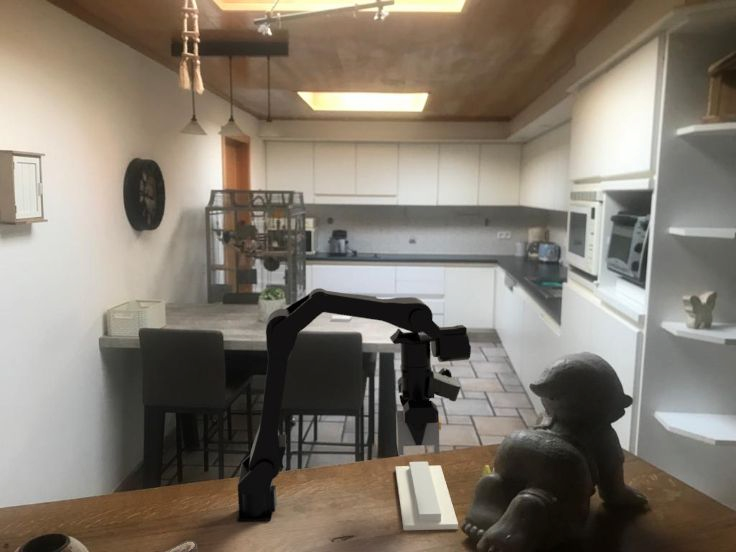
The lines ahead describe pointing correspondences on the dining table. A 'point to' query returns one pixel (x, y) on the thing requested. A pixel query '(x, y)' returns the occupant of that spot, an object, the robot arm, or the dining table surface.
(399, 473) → the rail plate
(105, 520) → the dining table surface
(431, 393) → the robot arm
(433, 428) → the din module
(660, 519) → the dining table surface
